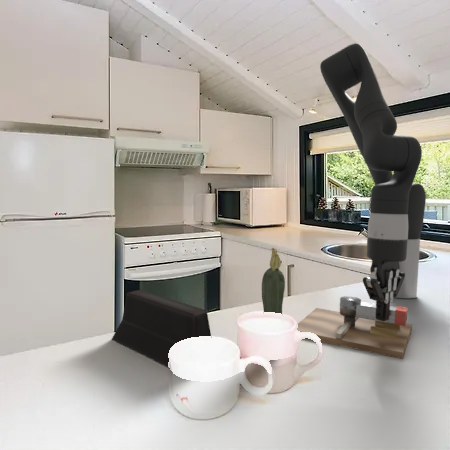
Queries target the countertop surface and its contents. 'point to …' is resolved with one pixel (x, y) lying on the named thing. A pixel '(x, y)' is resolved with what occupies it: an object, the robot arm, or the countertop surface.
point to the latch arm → (371, 311)
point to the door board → (357, 332)
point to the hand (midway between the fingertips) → (382, 319)
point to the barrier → (158, 324)
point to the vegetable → (273, 285)
